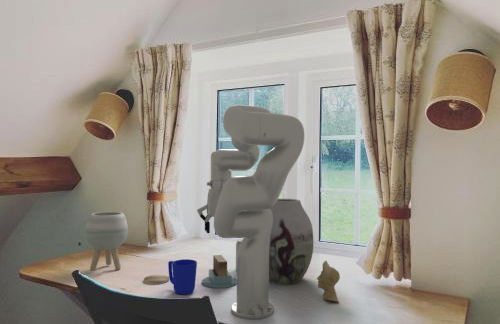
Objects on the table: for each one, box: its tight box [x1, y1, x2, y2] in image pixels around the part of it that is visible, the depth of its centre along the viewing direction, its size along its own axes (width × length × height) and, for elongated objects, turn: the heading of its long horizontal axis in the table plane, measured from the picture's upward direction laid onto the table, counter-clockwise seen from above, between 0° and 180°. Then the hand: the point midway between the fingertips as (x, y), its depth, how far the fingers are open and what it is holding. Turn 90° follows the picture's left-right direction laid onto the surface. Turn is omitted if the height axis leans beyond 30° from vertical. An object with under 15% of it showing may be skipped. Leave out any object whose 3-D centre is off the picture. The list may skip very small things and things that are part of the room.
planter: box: [85, 211, 129, 272], centre depth 153 cm, size 16×16×22 cm
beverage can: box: [235, 238, 243, 269], centre depth 154 cm, size 6×6×12 cm
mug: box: [167, 258, 198, 295], centre depth 127 cm, size 8×12×10 cm
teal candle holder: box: [201, 268, 237, 289], centre depth 137 cm, size 13×13×4 cm
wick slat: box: [212, 254, 228, 276], centre depth 137 cm, size 5×3×10 cm
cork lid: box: [143, 274, 170, 285], centre depth 138 cm, size 9×9×1 cm
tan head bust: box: [316, 260, 341, 303], centre depth 120 cm, size 8×7×12 cm
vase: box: [269, 198, 314, 285], centre depth 141 cm, size 21×21×30 cm
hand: (221, 232), depth 136 cm, fingers open, 9 cm apart
